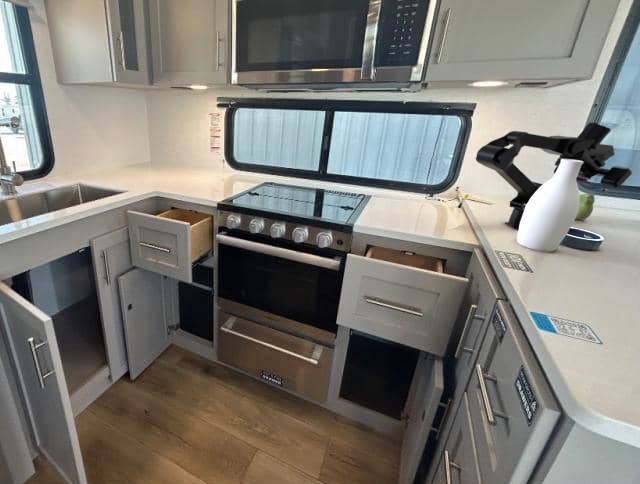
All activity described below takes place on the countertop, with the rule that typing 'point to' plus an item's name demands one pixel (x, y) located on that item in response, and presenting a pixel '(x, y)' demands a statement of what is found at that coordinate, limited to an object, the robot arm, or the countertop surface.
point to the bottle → (551, 209)
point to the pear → (585, 206)
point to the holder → (582, 239)
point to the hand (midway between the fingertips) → (601, 183)
